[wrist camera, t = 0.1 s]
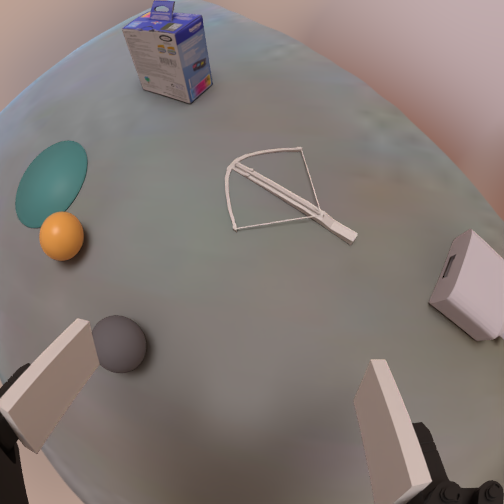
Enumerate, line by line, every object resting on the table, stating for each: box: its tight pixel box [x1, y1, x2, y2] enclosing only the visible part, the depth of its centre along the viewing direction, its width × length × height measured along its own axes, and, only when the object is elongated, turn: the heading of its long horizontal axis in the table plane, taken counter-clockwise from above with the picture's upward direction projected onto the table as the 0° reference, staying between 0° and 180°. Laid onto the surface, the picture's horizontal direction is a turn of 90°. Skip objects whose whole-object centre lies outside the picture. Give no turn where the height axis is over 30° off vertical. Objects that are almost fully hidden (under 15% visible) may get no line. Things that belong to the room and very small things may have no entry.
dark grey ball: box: [92, 315, 146, 373], centre depth 25 cm, size 6×6×6 cm
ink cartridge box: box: [122, 1, 213, 103], centre depth 30 cm, size 10×6×14 cm, turn 59°
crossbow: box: [225, 147, 358, 245], centre depth 31 cm, size 16×13×2 cm
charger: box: [429, 229, 504, 341], centre depth 25 cm, size 5×9×15 cm
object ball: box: [39, 212, 84, 261], centre depth 28 cm, size 6×6×6 cm
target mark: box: [15, 141, 87, 228], centre depth 33 cm, size 14×14×1 cm
